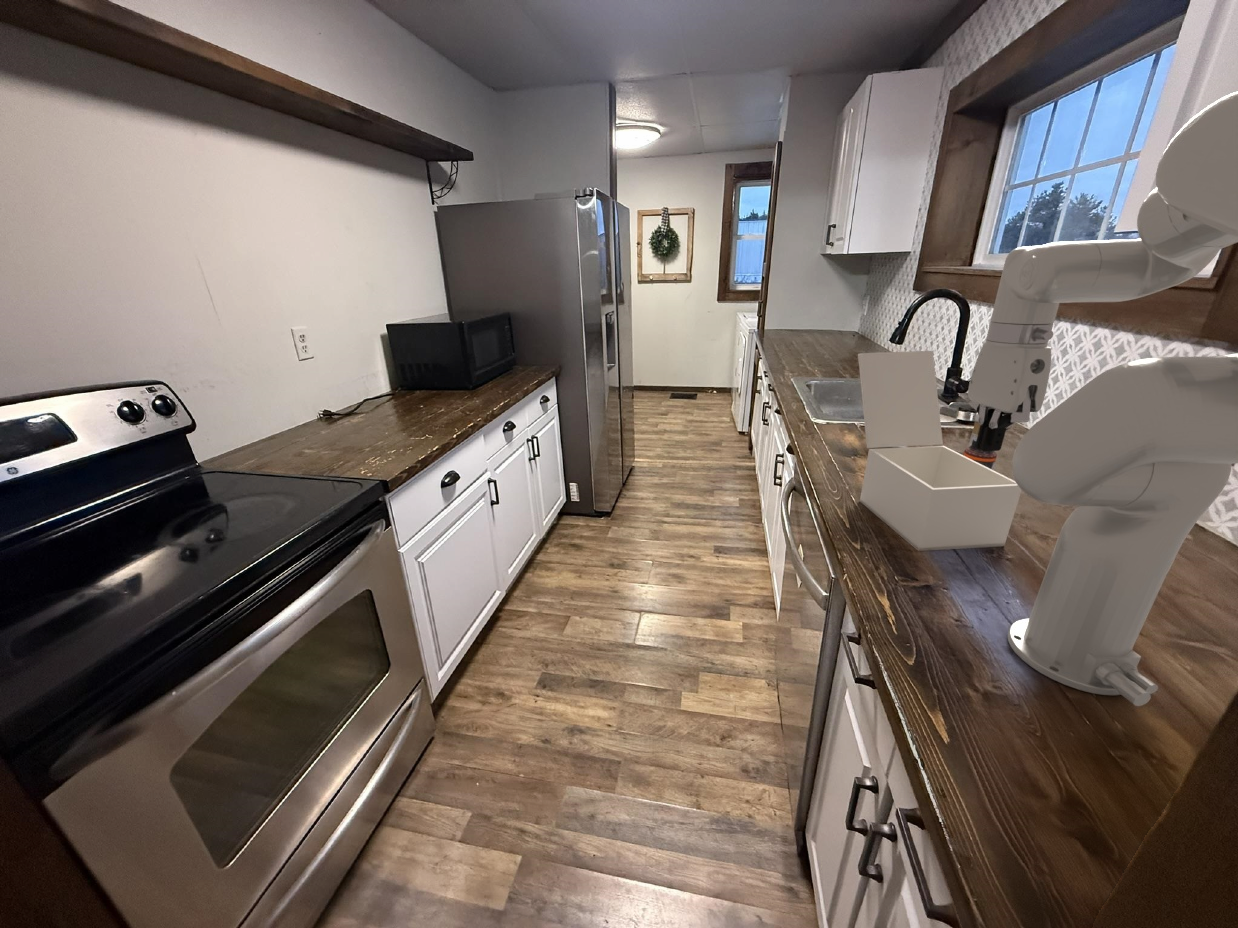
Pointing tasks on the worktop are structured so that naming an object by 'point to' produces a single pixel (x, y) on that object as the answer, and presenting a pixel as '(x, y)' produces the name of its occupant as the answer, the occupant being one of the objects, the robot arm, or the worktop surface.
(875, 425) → the lid flap
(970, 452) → the supplement bottle
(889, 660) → the worktop surface
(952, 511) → the carton
